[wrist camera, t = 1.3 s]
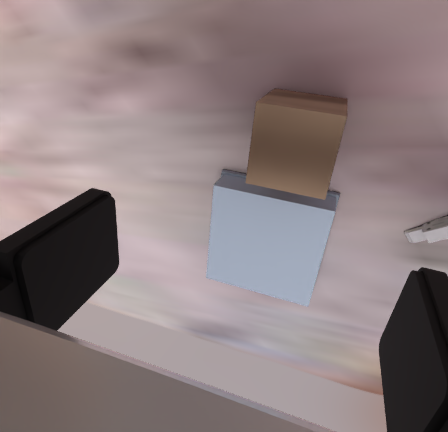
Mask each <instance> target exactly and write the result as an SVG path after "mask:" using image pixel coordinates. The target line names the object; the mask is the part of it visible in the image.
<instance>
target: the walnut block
mask: <svg viewBox="0 0 448 432" xmlns="http://www.w3.org/2000/svg"><path fill="white" fill-rule="evenodd" d="M346 119H347V99H345V98H338V97H331V96H324V95H317V94H310V93H303V92H296V91H289V90H282V89H274V90H272V91H271V92H269V93H268V94H267V95H265V96H264V97H263V98H261V99H260V100H258V101H257V102H256V106H255V114H254V122H253V129H252V137H251V145H250V152H249V160H248V168H247V175H246V183H247V184H252V185H257V186H261V187H266V188H271V189H276V190H280V191H285V192H290V193H295V194H299V195H304V196H309V197H314V198H318V199H323V200H325V199H326V195H327V191H328V187H329V184H330V180H331V176H332V172H333V168H334V165H335V161H336V157H337V153H338V149H339V145H340V142H341V138H342V134H343V130H344V126H345V123H346Z"/></svg>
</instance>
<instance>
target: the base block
mask: <svg viewBox="0 0 448 432" xmlns="http://www.w3.org/2000/svg"><path fill="white" fill-rule="evenodd" d="M246 175H247V174H245V173H240V172H235V171H230V170H225V169H223V170H222V174H221V178H220V179H219V180H218V181H217V182H216V183H215V185H214V189H213V201H212V213H211V226H210V238H209V250H208V262H207V274H206V278H208V279H212V280H215V281H219V282H222V283H226V284H230V285H233V286H237V287H240V288H244V289H247V290H251V291H254V292H258V293H261V294H265V295H269V296H272V297H276V298H279V299H283V300H286V301H290V302H293V303H297V304H301V305H304V306H309V302H310V299H311V295H312V292H313V288H314V285H315V281H316V278H317V274H318V271H319V267H320V264H321V260H322V257H323V253H324V250H325V246H326V243H327V239H328V236H329V232H330V229H331V225H332V222H333V218H334V215H335V210H336V207H337V203H338V200H339V196H340V193H338V192H333V191H327V195H326V199H325V200H323V199H318V198H314V197H309V196H304V195H299V194H295V193H290V192H285V191H280V190H276V189H271V188H266V187H261V186H257V185H252V184H247V183H246Z"/></svg>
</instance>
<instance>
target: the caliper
mask: <svg viewBox="0 0 448 432" xmlns="http://www.w3.org/2000/svg"><path fill="white" fill-rule="evenodd" d="M404 233H405V235H406V237H407V239H408V240H409V242H410V243H411V242H413V243H416V242H420V241H424V240H427V241H428V243H432V242H436V241H440V240H444V239H448V215H447V216H444V217H441V218H439V219H436V220H433V221H431V222H428V223H425V224H423V226H421V227H417V228H413V229H409V230H406V231H404Z"/></svg>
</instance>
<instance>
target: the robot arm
mask: <svg viewBox="0 0 448 432" xmlns="http://www.w3.org/2000/svg"><path fill="white" fill-rule="evenodd" d="M118 266H119V253H118V238H117V223H116V208H115V200H114V198H113V197H111V194H110V193H109V192H107V191H103V190H98V189H94V188H92V189H89V190H88V191H86V192H84V193H82V194H81V195H79V196H77V197H75V198H74V199H72V200H70V201H69V202H67V203H65V204H63V205H62V206H60V207H58V208H57V209H55V210H53V211H51V212H50V213H48V214H46V215H44V216H43V217H41V218H39V219H38V220H36V221H34V222H32V223H31V224H29V225H27V226H26V227H24V228H22V229H20V230H19V231H17V232H15V233H13V234H12V235H10V236H8V237H7V238H5V239H3V240H1V241H0V432H335V431H332V430H330V429H327V428H325V427H322V426H320V425H317V424H314V423H312V422H309V421H306V420H303V419H301V418H298V417H295V416H293V415H290V414H287V413H284V412H282V411H279V410H276V409H273V408H270V407H268V406H265V405H262V404H259V403H257V402H254V401H251V400H249V399H246V398H243V397H240V396H237V395H235V394H232V393H229V392H227V391H224V390H221V389H218V388H216V387H213V386H210V385H207V384H205V383H202V382H199V381H196V380H193V379H190V378H188V377H185V376H182V375H179V374H177V373H174V372H171V371H168V370H166V369H163V368H160V367H157V366H154V365H152V364H149V363H146V362H143V361H140V360H138V359H134V358H132V357H129V356H126V355H124V354H121V353H118V352H115V351H112V350H110V349H107V348H104V347H101V346H98V345H95V344H92V343H90V342H87V341H84V340H81V339H78V338H75V337H73V336H70V335H67V334H64V333H61V332H58V331H57V330H58V329H59V328H60V327H61V326H62V325H63V324H64V323H65V322H66V321H67V320H68V319H69V318H70V317H71V316H72V315H73V314H74V313H75V312H76V311H77V310H78V309H79V308H80V307H81V306H82V305H83V304H84V303H85V302H86V301H87V300H88V299H89V298H90V297H91V296H92V295H93V294H94V293H95V292H96V291H97V290H98V289H99V288H100V287H101V286H102V285H103V284H104V283H105V282H106V281H107V280H108V279H109V278H110V277H111V276H112V275H113V274H114V273H115V272H116V270H117V269H118ZM379 357H380V366H381V376H382V386H383V395H384V404H385V414H386V423H387V432H448V276H447V274H446V273H444V272H440V271H436V270H432V269H428V268H424V267H422V268H420V269H419V270H418V271H414V270H413V271H411V273H410V274H409V276H408V279H407V281H406V283H405V285H404V288H403V290H402V292H401V294H400V297H399V299H398V301H397V303H396V305H395V308H394V310H393V312H392V314H391V317H390V319H389V321H388V323H387V325H386V328H385V330H384V332H383V334H382V337H381V339H380V343H379Z"/></svg>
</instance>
